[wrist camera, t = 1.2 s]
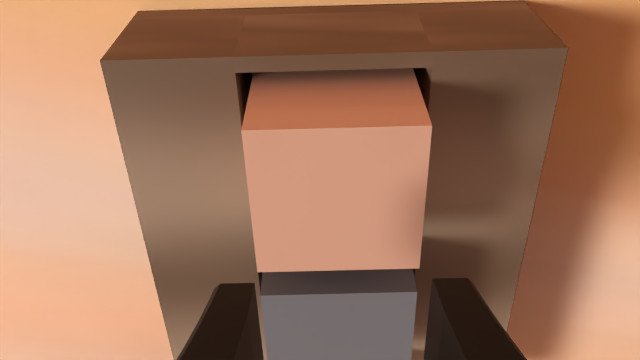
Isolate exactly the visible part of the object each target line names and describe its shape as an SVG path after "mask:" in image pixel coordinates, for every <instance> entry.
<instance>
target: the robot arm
mask: <svg viewBox="0 0 640 360" xmlns="http://www.w3.org/2000/svg"><path fill="white" fill-rule="evenodd" d="M176 360H264V357H263V349H262V340H261V332H260V324H259V315H258V307H257V298H256V290H255V283H222V284H219V285H218V286H217V287H215V288H214V290H213V292H212V295H211V297H210V299H209V301H208V303H207V305H206V307H205V309H204V311H203V313H202V315H201V317H200V319H199V321H198V323H197V325H196V326H195V328H194V330H193V332H192V334H191V335H190V337H189V339H188V341H187V342H186V344H185V346H184V348H183V350H182V351H181V353H180V354H179V356H178V358H177V359H176ZM424 360H527V359H526V358H525V357H524V355H523V354H522V353H521V351H520V350H519V349H518V347H517V346H516V345H515V343H514V342H513V341H512V339H511V338H510V337H509V335H508V334H507V332H506V331H505V330H504V328H503V327H502V325H501V324H500V323H499V321H498V320H497V318H496V317H495V315H494V314H493V313H492V311H491V310H490V308H489V307H488V305H487V304H486V302H485V301H484V299H483V298H482V296H481V295H480V293H479V292H478V290H477V288H476V287H475V285H474V284H473V282H472V281H470V280H469V279H468V278H432V285H431V294H430V304H429V313H428V322H427V331H426V341H425V350H424Z"/></svg>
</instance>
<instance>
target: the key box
mask: <svg viewBox="0 0 640 360" xmlns="http://www.w3.org/2000/svg"><path fill="white" fill-rule="evenodd" d="M567 52H568V47H567V46H566V45H565V44H564V43H563V42H562V41H561V40H560V39H559V37H558V36H557V35H556V34H555V33H554V32H553V31H552V30H551V29H550V28H549V27H548V26H547V25H546V24H545V23H544V22H543V21H542V20H541V18H540V17H539V16H538V15H537V14H536V13H535V12H534V11H533V10H532V9H531V8H530V7H529V6H528V5H527V4H526V3H525V2H524V1H492V2H456V3H420V4H385V5H349V6H313V7H278V8H242V9H206V10H171V11H138V12H137V13H136V14H135V16H134V17H133V18H132V20H131V21H130V22H129V24H128V25H127V26H126V27H125V29H124V30H123V31H122V33H121V34H120V35H119V37H118V38H117V39H116V40H115V42H114V43H113V44H112V46H111V47H110V48H109V50H108V51H107V52H106V53H105V55H104V56H103V57H102V59H101V60H100V63H101V67H102V71H103V75H104V79H105V83H106V87H107V91H108V95H109V99H110V103H111V107H112V111H113V115H114V119H115V123H116V128H117V132H118V136H119V140H120V144H121V148H122V152H123V156H124V160H125V164H126V168H127V172H128V176H129V180H130V184H131V188H132V192H133V196H134V200H135V204H136V208H137V212H138V217H139V221H140V225H141V229H142V233H143V237H144V241H145V245H146V249H147V253H148V257H149V261H150V265H151V269H152V273H153V277H154V281H155V285H156V289H157V293H158V297H159V302H160V306H161V310H162V314H163V318H164V322H165V326H166V330H167V334H168V338H169V342H170V346H171V350H172V354H173V358H174V360H176V359H177V358H178V356H179V354H180V353H181V351H182V350H183V348H184V346H185V344H186V342H187V341H188V339H189V337H190V335H191V334H192V332H193V330H194V328H195V326H196V325H197V323H198V321H199V319H200V317H201V315H202V313H203V311H204V309H205V307H206V305H207V303H208V301H209V299H210V297H211V295H212V292H213V290H214V288H215V287H217V286H218V285H219V284H222V283H255V290H256V298H257V307H258V315H259V324H260V332H261V340H262V349H263V357H264V360H267V352H266V343H265V335H264V326H263V317H262V309H261V300H260V291H261V282H262V273H263V272H257V265H256V256H255V247H254V239H253V230H252V221H251V212H250V204H249V195H248V186H247V177H246V169H245V160H244V151H243V142H242V134H241V129H242V124H243V119H244V115H245V110H246V105H247V101H248V96H249V91H250V86H251V82H252V77H253V72H285V71H322V70H359V69H396V68H413V70H414V73H415V76H416V79H417V82H418V85H419V88H420V91H421V94H422V97H423V100H424V103H425V106H426V108H427V111H428V114H429V117H430V120H431V123H432V134H431V145H430V157H429V168H428V179H427V190H426V201H425V212H424V223H423V234H422V245H421V256H420V268H417V269H413V273H414V278H415V283H416V288H417V301H416V312H415V323H414V334H413V345H412V356H411V360H424V350H425V341H426V331H427V322H428V313H429V304H430V294H431V285H432V278H468V279H469V280H470V281H472V282H473V284H474V285H475V287H476V288H477V290H478V292H479V293H480V295H481V296H482V298H483V299H484V301H485V302H486V304H487V305H488V307H489V308H490V310H491V311H492V313H493V314H494V315H495V317H496V318H497V320H498V321H499V323H500V324H501V325H502V327H503V328H504V330H505V331H506V332H507V328H508V324H509V319H510V314H511V310H512V305H513V301H514V296H515V291H516V287H517V282H518V278H519V273H520V268H521V264H522V259H523V254H524V250H525V245H526V241H527V236H528V231H529V227H530V222H531V218H532V213H533V208H534V204H535V199H536V195H537V190H538V185H539V181H540V176H541V172H542V167H543V162H544V158H545V153H546V149H547V144H548V139H549V135H550V130H551V126H552V121H553V116H554V112H555V107H556V103H557V98H558V93H559V89H560V84H561V80H562V75H563V70H564V66H565V61H566V57H567Z"/></svg>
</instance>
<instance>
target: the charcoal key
mask: <svg viewBox="0 0 640 360" xmlns="http://www.w3.org/2000/svg"><path fill="white" fill-rule="evenodd" d="M260 300H261V309H262V317H263V326H264V335H265V343H266V352H267V360H411V356H412V345H413V334H414V323H415V312H416V301H417V288H416V283H415V278H414V273H413V269H375V270H333V271H292V272H263V273H262V282H261V291H260Z"/></svg>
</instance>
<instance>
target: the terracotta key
mask: <svg viewBox="0 0 640 360" xmlns="http://www.w3.org/2000/svg"><path fill="white" fill-rule="evenodd" d="M241 134H242V142H243V151H244V160H245V169H246V177H247V186H248V195H249V204H250V212H251V221H252V230H253V239H254V247H255V256H256V265H257V272H292V271H333V270H375V269H417V268H420V256H421V245H422V234H423V223H424V212H425V201H426V190H427V179H428V168H429V157H430V145H431V134H432V123H431V120H430V117H429V114H428V111H427V108H426V106H425V103H424V100H423V97H422V94H421V91H420V88H419V85H418V82H417V79H416V76H415V73H414V70H413V68H396V69H359V70H322V71H285V72H253V77H252V82H251V86H250V91H249V96H248V101H247V105H246V110H245V115H244V119H243V124H242V129H241Z"/></svg>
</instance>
